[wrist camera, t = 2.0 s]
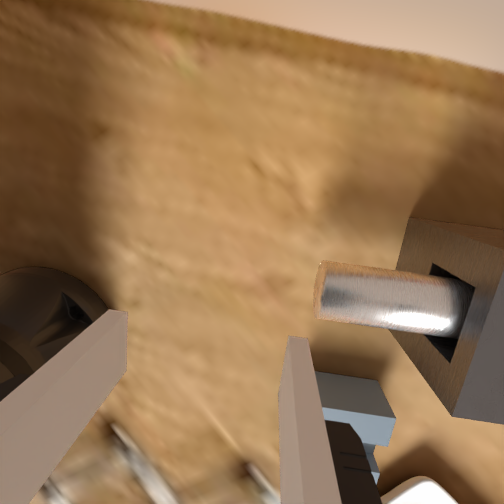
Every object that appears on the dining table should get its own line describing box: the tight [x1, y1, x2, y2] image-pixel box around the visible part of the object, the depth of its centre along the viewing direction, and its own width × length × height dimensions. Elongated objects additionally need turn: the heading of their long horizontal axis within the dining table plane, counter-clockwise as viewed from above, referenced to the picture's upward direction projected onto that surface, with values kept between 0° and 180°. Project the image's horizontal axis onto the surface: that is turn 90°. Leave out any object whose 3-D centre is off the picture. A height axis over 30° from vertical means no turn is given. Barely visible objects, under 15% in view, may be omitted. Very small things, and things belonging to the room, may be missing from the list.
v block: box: [315, 371, 396, 485], centre depth 30 cm, size 8×9×5 cm
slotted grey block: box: [389, 217, 504, 424], centre depth 23 cm, size 11×10×12 cm
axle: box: [313, 260, 476, 339], centre depth 21 cm, size 20×4×4 cm, turn 83°
